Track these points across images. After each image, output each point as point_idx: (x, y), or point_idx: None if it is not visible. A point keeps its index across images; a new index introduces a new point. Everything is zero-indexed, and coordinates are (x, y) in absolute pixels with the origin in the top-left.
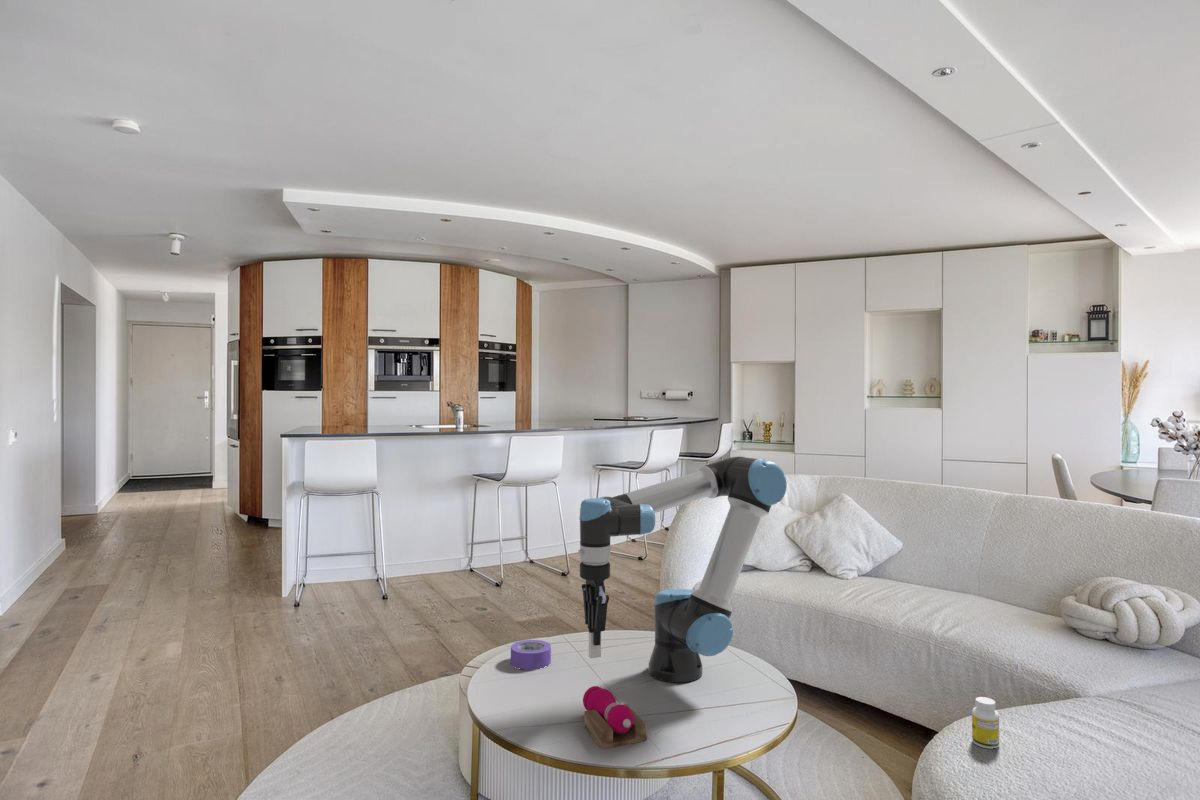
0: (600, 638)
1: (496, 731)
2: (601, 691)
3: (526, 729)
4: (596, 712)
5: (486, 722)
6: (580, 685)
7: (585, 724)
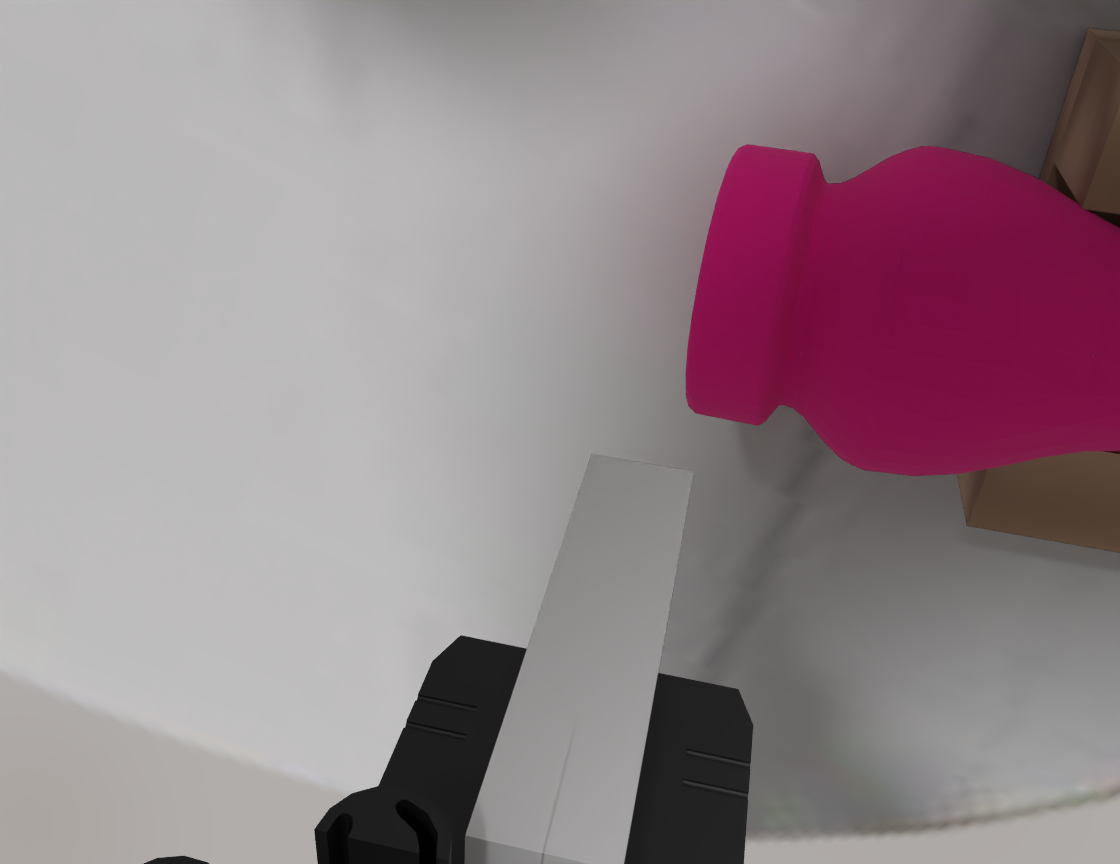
0: (647, 723)
1: None
2: (969, 413)
3: None
4: (1068, 457)
5: None
6: (136, 67)
7: None
